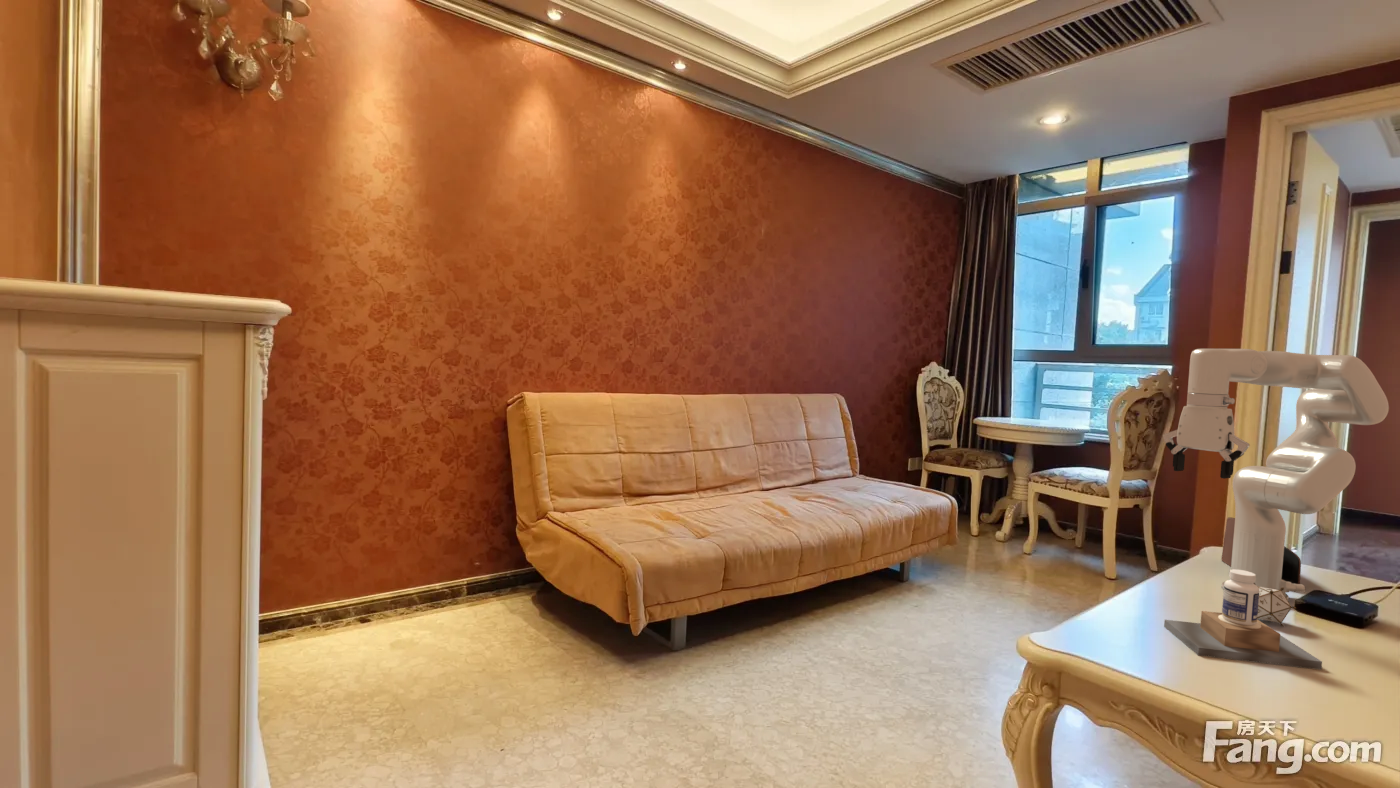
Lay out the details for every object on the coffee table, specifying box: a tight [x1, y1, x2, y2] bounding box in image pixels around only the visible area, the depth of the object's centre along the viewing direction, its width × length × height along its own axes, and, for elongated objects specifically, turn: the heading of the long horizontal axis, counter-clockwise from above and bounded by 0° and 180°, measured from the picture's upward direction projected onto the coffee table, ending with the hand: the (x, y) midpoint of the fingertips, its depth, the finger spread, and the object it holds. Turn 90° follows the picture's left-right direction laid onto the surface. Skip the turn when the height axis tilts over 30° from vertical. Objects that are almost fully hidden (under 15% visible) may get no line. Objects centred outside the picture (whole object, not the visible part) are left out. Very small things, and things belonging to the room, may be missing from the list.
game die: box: [1254, 583, 1297, 628], centre depth 144 cm, size 9×8×10 cm
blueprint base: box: [1163, 610, 1323, 671], centre depth 130 cm, size 20×14×5 cm
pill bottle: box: [1221, 569, 1259, 625], centre depth 130 cm, size 5×5×10 cm
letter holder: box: [1221, 516, 1302, 584], centre depth 178 cm, size 10×20×14 cm, turn 161°
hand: (1201, 474), depth 154 cm, fingers open, 9 cm apart
